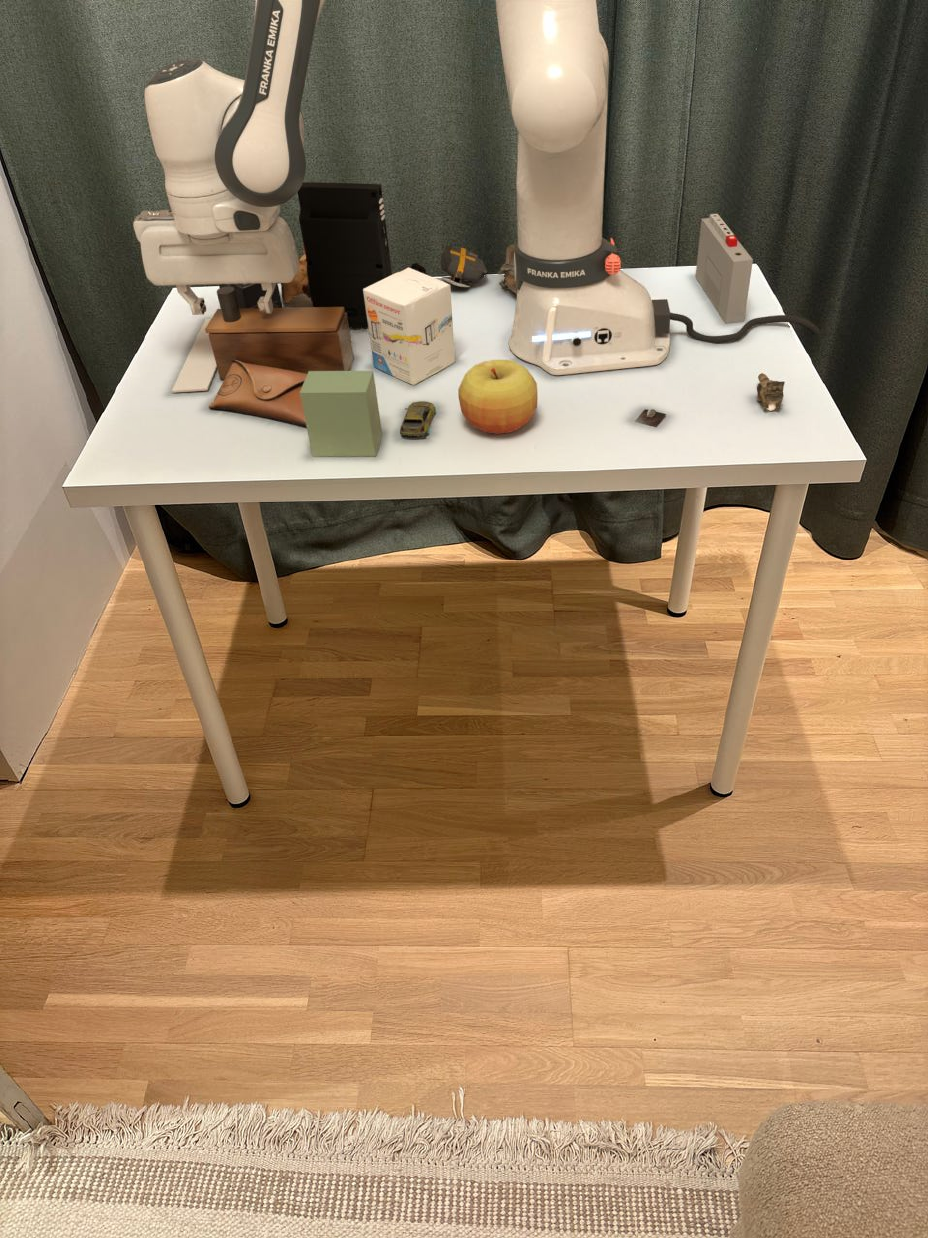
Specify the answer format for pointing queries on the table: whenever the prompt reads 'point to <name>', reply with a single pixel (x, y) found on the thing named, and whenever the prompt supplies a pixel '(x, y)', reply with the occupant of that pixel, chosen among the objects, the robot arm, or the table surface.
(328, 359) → the storage box
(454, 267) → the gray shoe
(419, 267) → the wireless earbuds
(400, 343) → the ink box
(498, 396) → the apple
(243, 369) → the sunglasses case
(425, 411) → the race car
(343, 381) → the block
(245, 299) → the box
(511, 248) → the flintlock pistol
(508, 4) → the robot arm
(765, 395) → the cat figurine
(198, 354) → the nameplate
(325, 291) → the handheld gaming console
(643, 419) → the square knob tile
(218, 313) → the lid
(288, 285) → the tan porous chunk
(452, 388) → the table surface
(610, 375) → the table surface
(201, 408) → the table surface
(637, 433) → the table surface
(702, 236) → the cassette player
